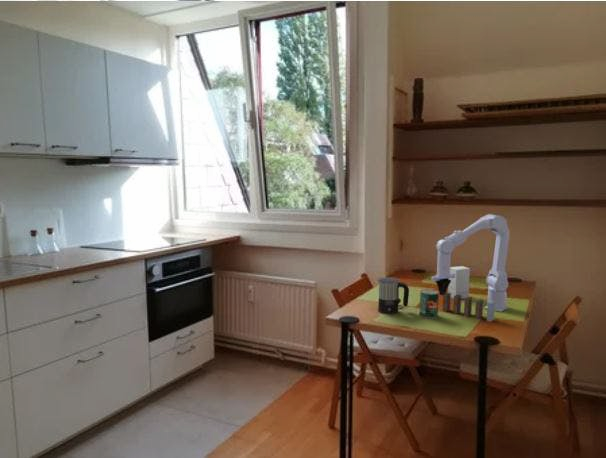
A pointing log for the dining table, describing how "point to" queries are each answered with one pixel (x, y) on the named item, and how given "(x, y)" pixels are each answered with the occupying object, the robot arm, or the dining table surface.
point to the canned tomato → (429, 303)
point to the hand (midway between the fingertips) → (442, 294)
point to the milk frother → (391, 295)
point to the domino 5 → (490, 311)
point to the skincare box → (459, 282)
